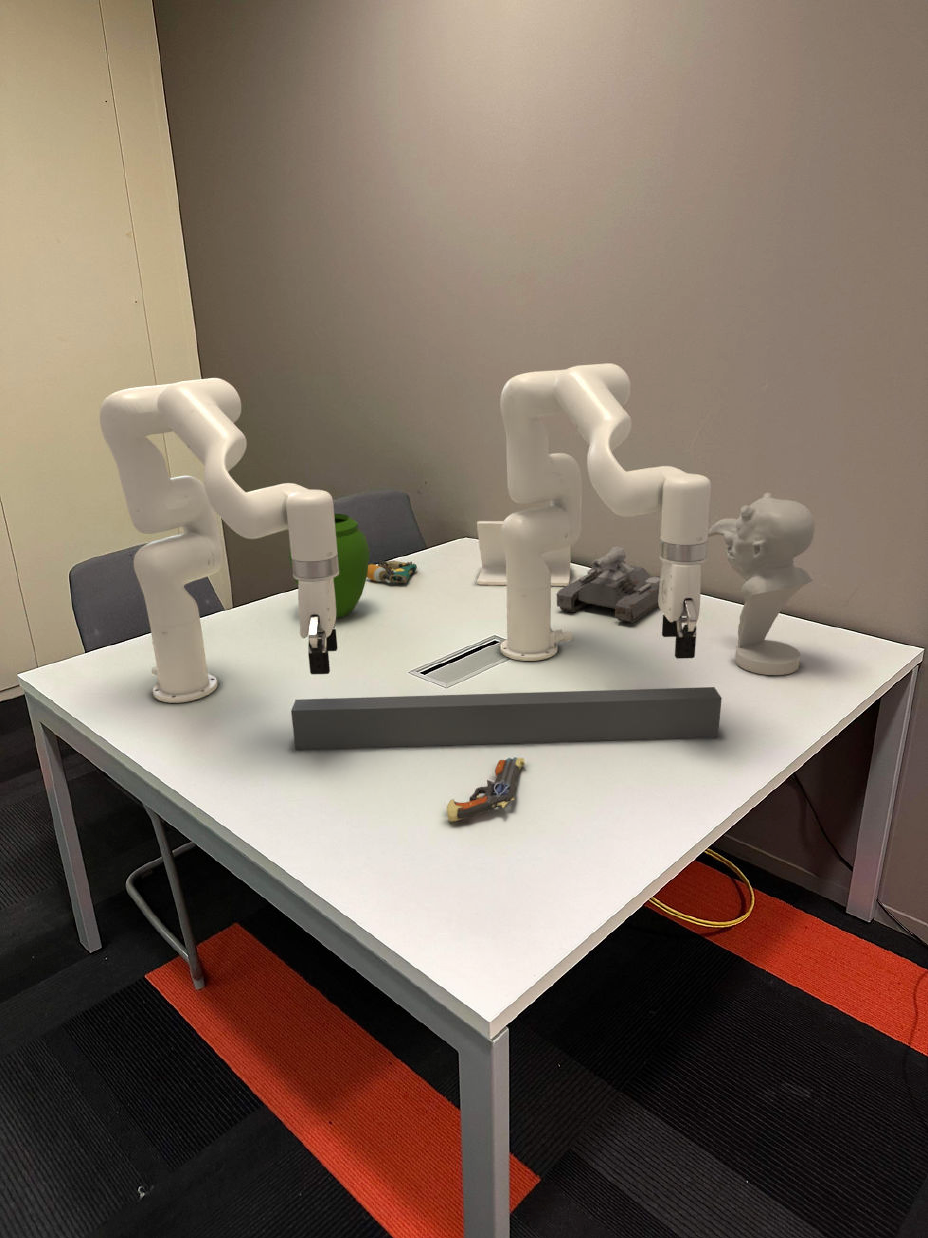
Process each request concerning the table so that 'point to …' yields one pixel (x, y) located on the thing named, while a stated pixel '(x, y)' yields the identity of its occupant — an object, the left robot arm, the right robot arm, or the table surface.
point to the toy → (613, 588)
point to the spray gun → (391, 571)
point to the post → (506, 718)
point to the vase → (348, 564)
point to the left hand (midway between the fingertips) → (324, 661)
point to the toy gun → (490, 792)
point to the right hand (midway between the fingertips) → (677, 646)
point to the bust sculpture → (766, 576)
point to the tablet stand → (496, 561)
